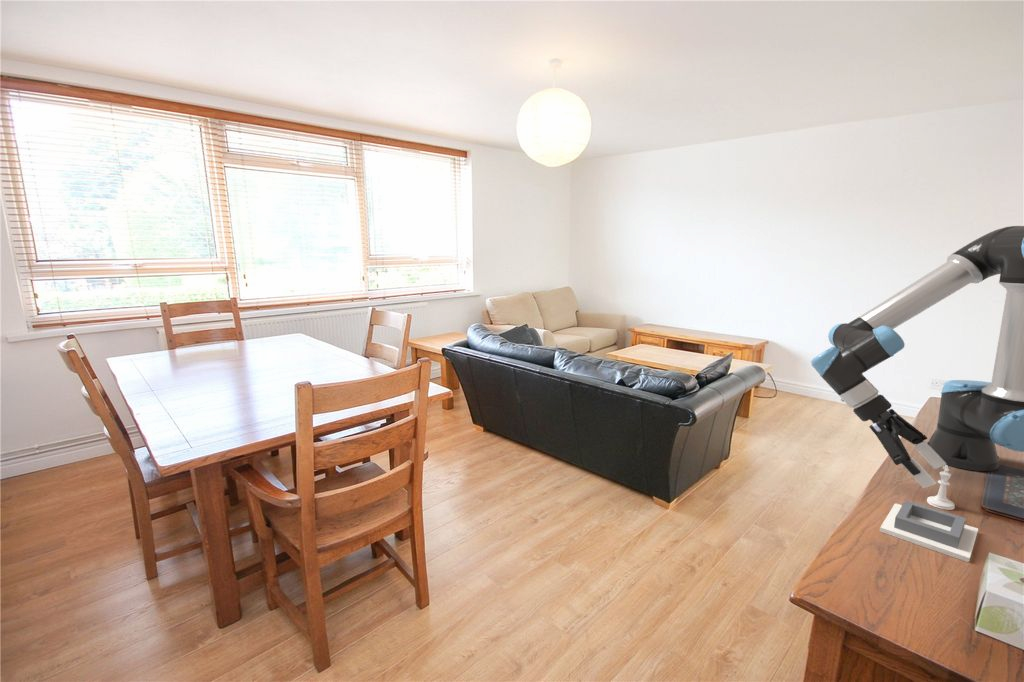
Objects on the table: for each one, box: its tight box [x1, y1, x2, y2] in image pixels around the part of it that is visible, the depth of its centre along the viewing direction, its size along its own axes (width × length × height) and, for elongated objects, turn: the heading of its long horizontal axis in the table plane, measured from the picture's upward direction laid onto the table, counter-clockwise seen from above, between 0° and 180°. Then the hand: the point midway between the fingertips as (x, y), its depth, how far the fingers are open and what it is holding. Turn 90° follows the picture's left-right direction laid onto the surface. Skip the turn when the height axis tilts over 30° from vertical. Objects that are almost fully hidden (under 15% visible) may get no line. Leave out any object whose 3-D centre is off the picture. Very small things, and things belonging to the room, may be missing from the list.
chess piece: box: [926, 465, 956, 511], centre depth 108 cm, size 5×5×10 cm
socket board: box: [879, 499, 979, 563], centre depth 99 cm, size 14×14×4 cm
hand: (935, 475), depth 109 cm, fingers open, 13 cm apart
